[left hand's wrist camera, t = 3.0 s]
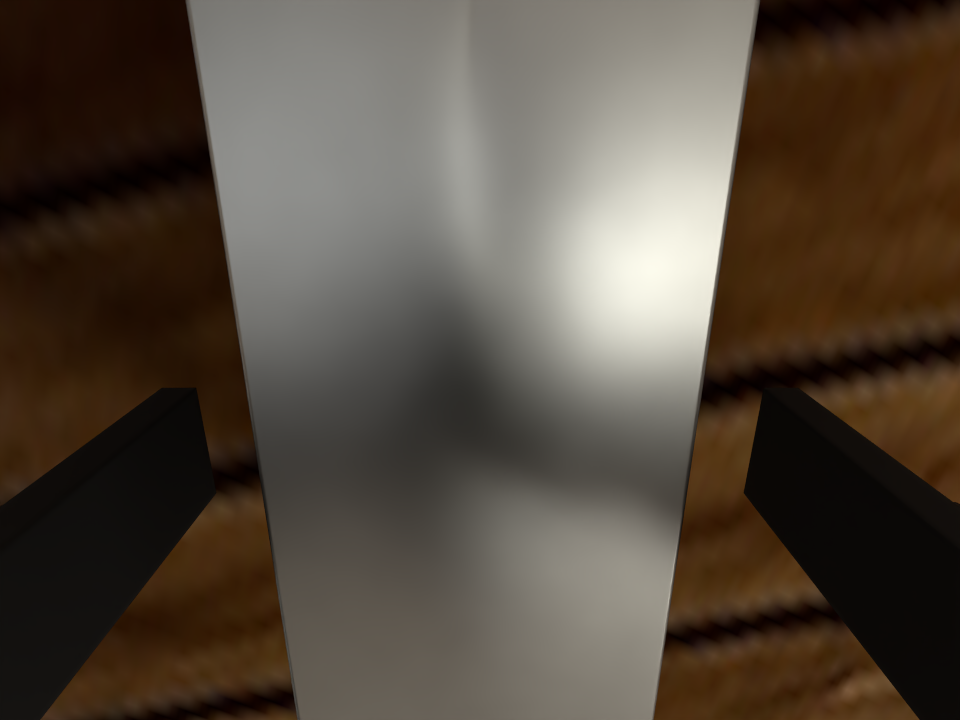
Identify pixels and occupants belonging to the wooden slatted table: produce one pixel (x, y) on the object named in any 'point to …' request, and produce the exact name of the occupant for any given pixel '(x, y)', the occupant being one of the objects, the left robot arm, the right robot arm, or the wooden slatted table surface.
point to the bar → (474, 331)
